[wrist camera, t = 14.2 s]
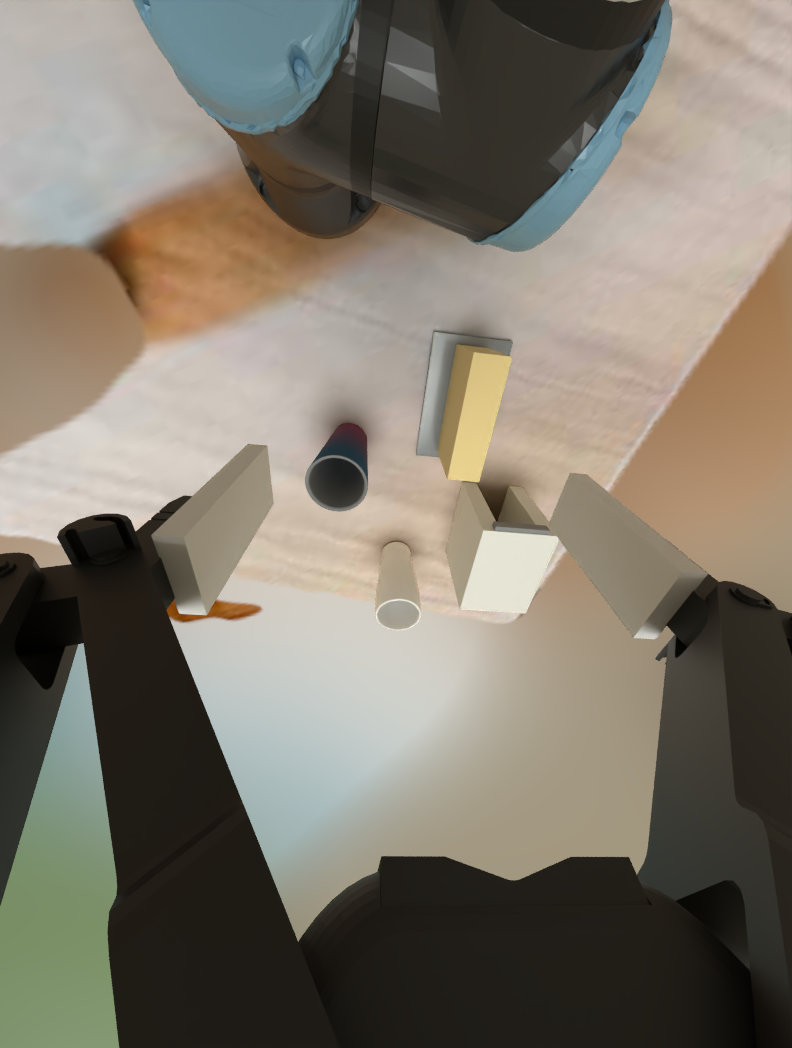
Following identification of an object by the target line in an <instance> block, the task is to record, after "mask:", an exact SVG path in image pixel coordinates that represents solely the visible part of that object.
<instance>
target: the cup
mask: <svg viewBox="0 0 792 1048" xmlns="http://www.w3.org/2000/svg"><path fill="white" fill-rule="evenodd" d="M305 485H306V488H307V491H308V493H309V495H310V497H311V498H312V499H313V500H314V501H315V502H316V503H317V504H318V505H320V506H321V507H323V508H325V509H328V510H332V511H347V510H350V509H352V508H354V507H356V506H358V505H359V504H360V503H361V502H362V501H363V500H364V498H365V496H366V493H367V490H368V467H367V437H366V434H365V432H364V431H363V430H362V428H360V427H359V426H357V425H355V424H351V423H346V424H342V425H340V426H339V427H338V428H337V429H336V430H335V432H334V433H333V434H332V436H331V437H330V439H329V440H328V441H327V443H326V444H325V446H324V447H323V449H322V450H321V451H320V453H319V454H318V456H317V457H316V458H315V460H314V461H313V463H312V464H311V466H310V467H309V468H308V471H307V473H306V478H305Z"/></svg>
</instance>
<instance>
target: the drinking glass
mask: <svg viewBox="0 0 792 1048" xmlns="http://www.w3.org/2000/svg"><path fill="white" fill-rule="evenodd" d="M375 616H376V620H377V621H378V623H379V624H380V625H381V626H383V627H385V628H387V629H390V630H405V629H409V628H411V627H413V626H414V625H416V624H417V622H418V621H419V620H420V617H421V603H420V594H419V589H418V584H417V580H416V576H415V572H414V567H413V563H412V558H411V551H410V549H409V547H408V546H407V545H406V544H404V543H402V542H391V543H389V544H387V545H386V546H385V547H384V548H383V550H382V553H381V564H380V571H379V577H378V583H377V589H376V598H375Z"/></svg>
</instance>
